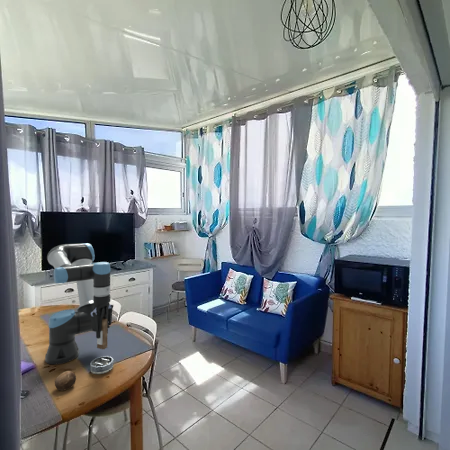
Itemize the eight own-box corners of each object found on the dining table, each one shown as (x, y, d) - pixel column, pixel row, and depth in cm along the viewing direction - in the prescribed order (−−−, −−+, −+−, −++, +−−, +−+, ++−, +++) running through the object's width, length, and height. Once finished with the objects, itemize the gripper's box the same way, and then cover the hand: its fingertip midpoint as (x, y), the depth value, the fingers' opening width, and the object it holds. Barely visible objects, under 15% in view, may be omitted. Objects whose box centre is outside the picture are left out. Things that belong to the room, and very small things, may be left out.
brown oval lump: (61, 372, 126) (62, 365, 122) (78, 378, 126) (80, 371, 123) (50, 390, 119) (50, 383, 116) (68, 396, 120) (69, 390, 116)
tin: (102, 376, 129) (102, 368, 129) (85, 371, 132) (85, 364, 132) (117, 365, 138) (117, 358, 138) (101, 361, 142) (101, 354, 142)
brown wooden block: (103, 349, 133) (103, 320, 132) (97, 348, 134) (97, 319, 134) (107, 347, 135) (107, 318, 135) (100, 345, 136) (100, 317, 136)
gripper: (95, 300, 125) (96, 351, 126) (119, 291, 140) (119, 337, 141) (82, 298, 128) (83, 348, 129) (107, 289, 142) (107, 335, 143)
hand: (102, 342), depth 135 cm, fingers closed on brown wooden block, 2 cm apart
